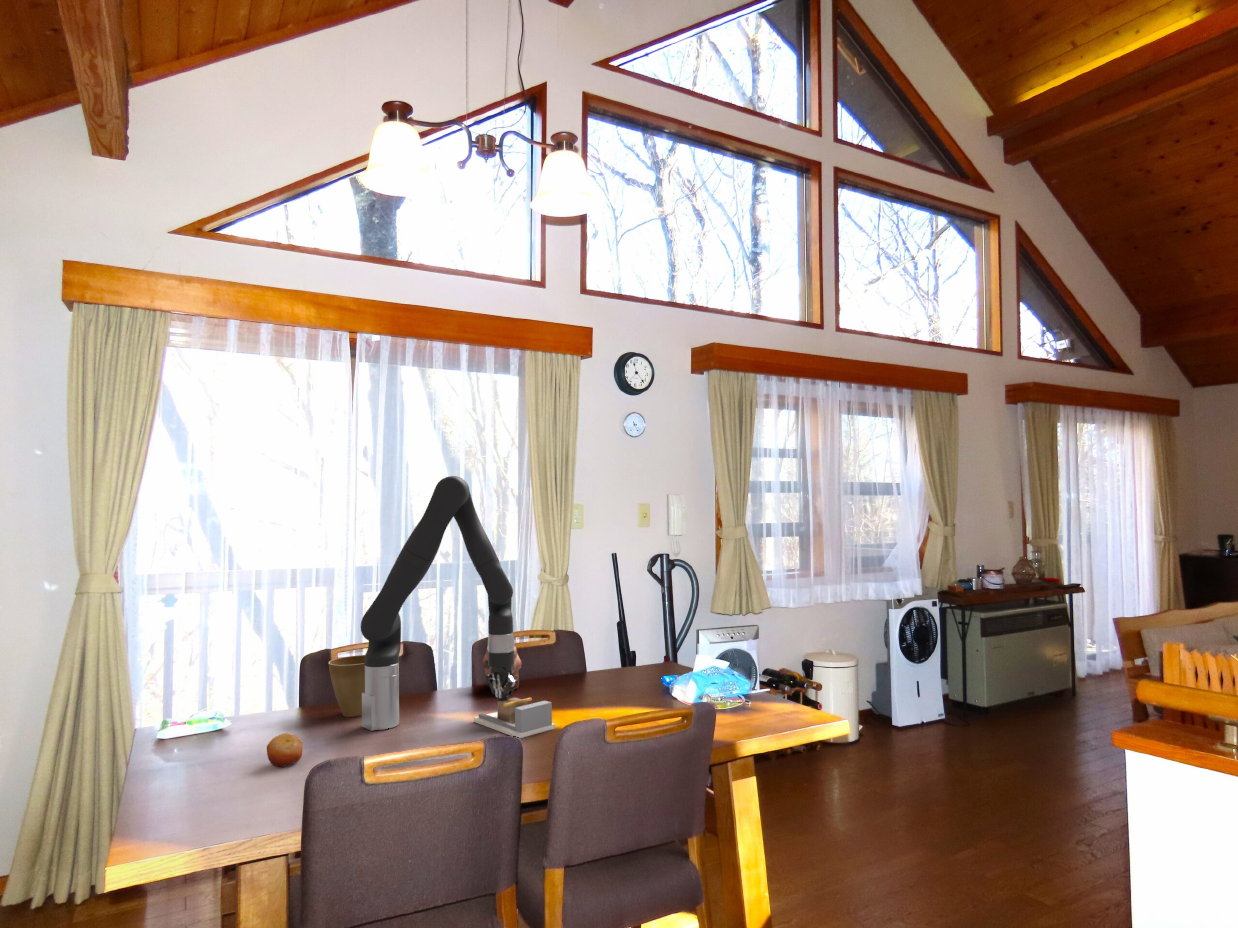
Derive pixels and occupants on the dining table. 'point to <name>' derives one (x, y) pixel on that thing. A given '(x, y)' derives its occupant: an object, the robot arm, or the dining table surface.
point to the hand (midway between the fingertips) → (502, 710)
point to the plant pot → (348, 683)
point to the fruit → (284, 750)
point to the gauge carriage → (509, 708)
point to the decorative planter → (514, 668)
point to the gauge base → (522, 720)
